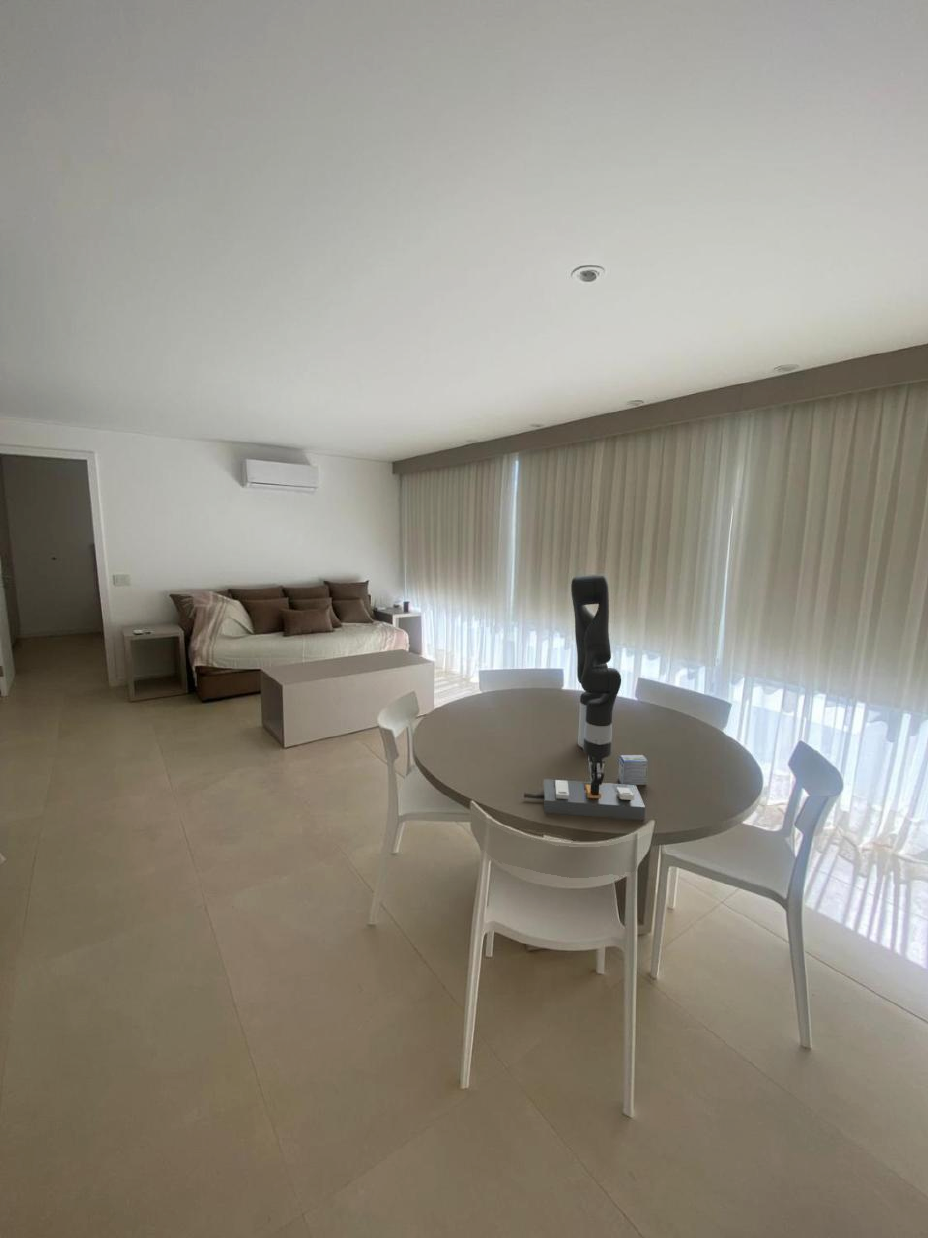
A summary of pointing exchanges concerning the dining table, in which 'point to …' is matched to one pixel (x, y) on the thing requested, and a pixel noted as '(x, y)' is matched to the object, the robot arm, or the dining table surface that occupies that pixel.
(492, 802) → the dining table surface
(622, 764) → the medicine box
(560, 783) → the plate
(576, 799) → the power strip
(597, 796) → the rocker
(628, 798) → the rocker
